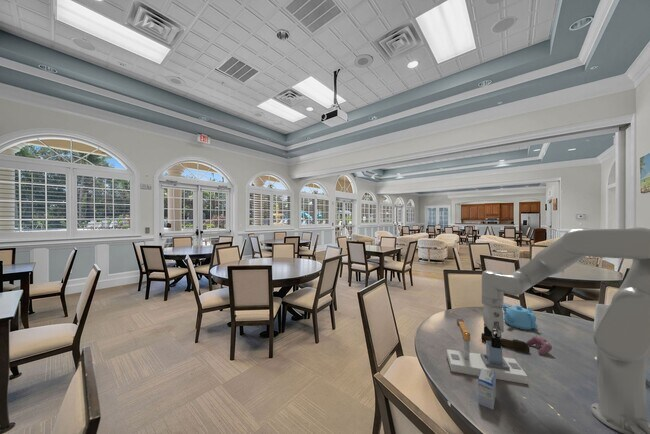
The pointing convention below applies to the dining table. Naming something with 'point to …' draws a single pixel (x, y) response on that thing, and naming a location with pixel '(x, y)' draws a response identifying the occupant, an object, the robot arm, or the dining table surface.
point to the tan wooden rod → (463, 329)
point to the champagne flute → (599, 314)
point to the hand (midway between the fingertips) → (492, 341)
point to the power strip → (484, 365)
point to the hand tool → (510, 343)
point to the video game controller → (540, 344)
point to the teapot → (519, 317)
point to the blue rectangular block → (493, 354)
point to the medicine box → (487, 388)
